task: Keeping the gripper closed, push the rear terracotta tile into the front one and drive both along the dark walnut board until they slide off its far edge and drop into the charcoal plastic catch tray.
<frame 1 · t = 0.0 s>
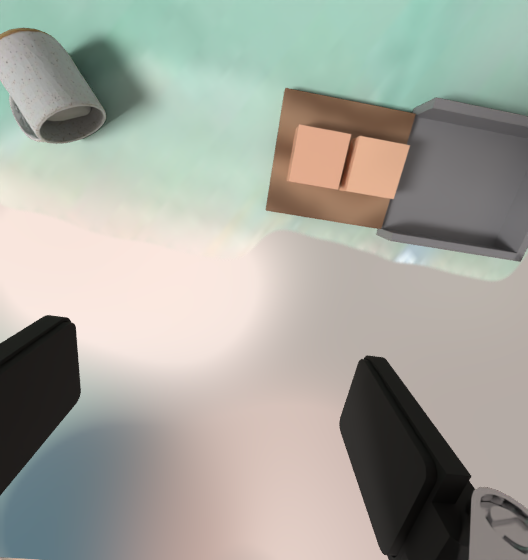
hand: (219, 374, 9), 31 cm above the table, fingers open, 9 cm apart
board: (333, 165, 36), on the table
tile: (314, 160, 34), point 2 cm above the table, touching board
tray: (456, 187, 37), on the table
ceramic mug: (66, 109, 33), on the table
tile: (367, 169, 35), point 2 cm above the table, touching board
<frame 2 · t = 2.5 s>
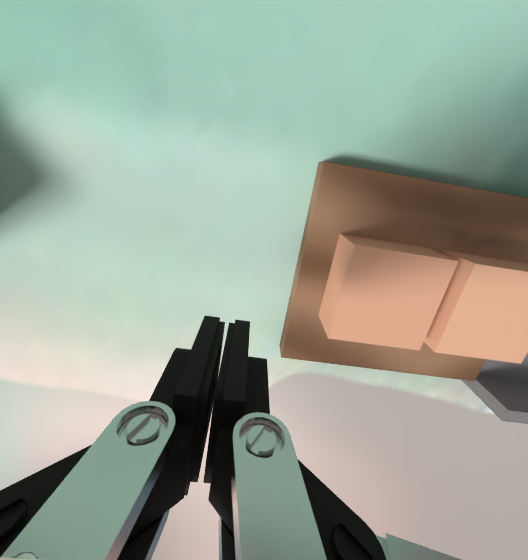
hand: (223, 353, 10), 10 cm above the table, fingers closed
board: (400, 280, 20), on the table
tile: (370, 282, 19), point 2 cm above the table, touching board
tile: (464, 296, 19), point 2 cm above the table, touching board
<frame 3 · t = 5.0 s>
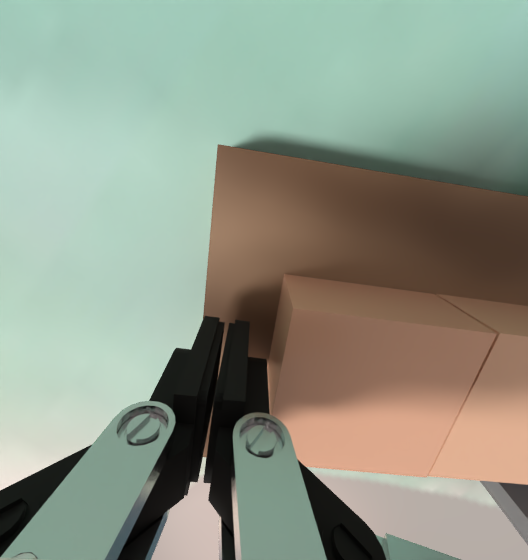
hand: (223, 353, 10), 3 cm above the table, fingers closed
board: (374, 335, 13), on the table
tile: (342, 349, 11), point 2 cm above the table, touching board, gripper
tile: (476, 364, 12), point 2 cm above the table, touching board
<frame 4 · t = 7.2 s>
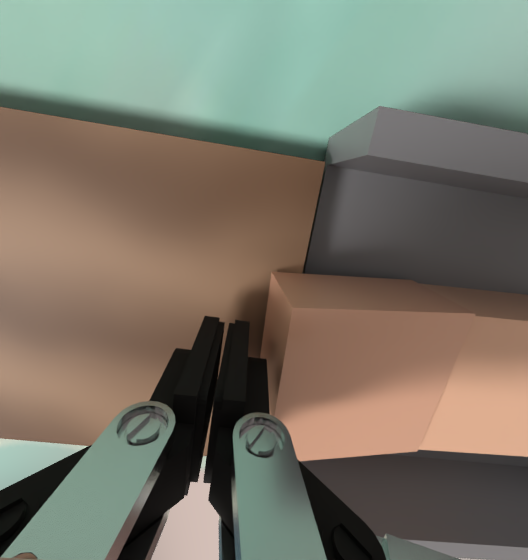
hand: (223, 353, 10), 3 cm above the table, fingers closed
board: (110, 301, 12), on the table
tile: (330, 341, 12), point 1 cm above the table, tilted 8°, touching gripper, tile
tray: (469, 345, 14), on the table
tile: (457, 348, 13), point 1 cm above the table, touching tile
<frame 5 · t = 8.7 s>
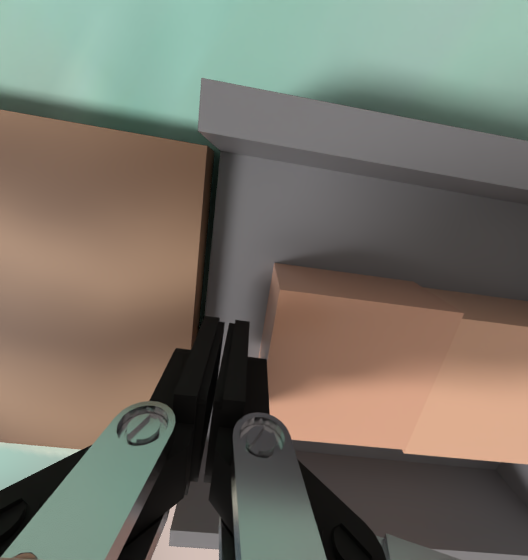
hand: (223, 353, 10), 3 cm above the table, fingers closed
board: (16, 292, 12), on the table
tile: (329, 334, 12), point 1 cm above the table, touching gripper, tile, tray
tray: (394, 341, 13), on the table
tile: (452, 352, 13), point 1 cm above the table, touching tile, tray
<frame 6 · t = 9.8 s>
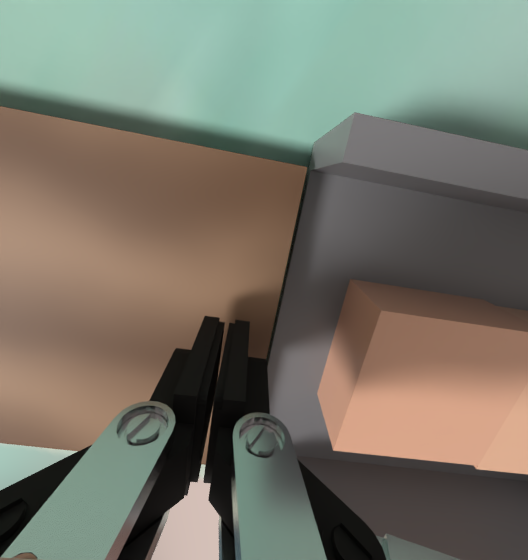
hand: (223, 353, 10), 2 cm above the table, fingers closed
board: (89, 302, 12), on the table
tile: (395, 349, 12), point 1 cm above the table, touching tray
tray: (454, 356, 13), on the table
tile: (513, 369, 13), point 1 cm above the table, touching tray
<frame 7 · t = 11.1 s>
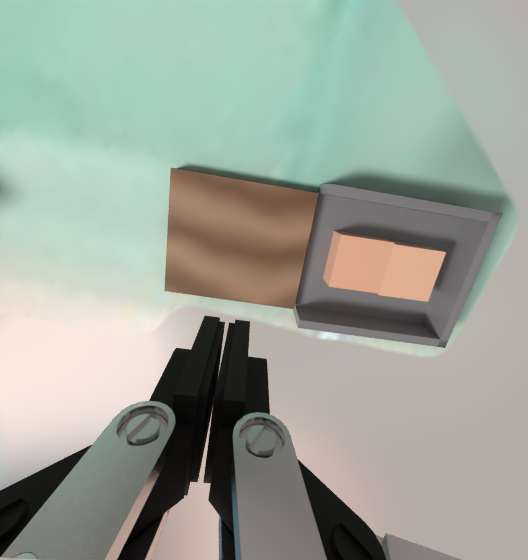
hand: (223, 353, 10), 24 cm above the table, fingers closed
board: (238, 242, 33), on the table
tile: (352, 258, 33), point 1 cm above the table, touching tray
tray: (376, 263, 34), on the table
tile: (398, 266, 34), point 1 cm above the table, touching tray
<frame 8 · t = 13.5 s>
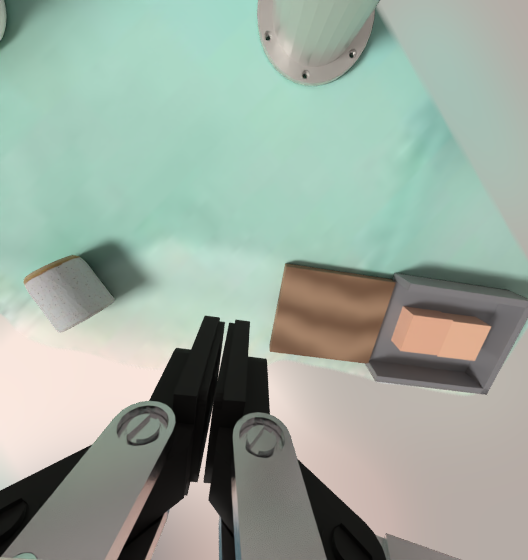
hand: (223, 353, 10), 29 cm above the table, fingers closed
board: (327, 313, 42), on the table
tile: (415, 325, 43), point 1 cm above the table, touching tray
tray: (432, 328, 44), on the table
ceramic mug: (81, 287, 40), on the table
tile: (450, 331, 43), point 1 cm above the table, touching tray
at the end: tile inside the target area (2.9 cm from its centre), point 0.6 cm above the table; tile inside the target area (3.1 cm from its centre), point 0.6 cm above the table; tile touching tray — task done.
